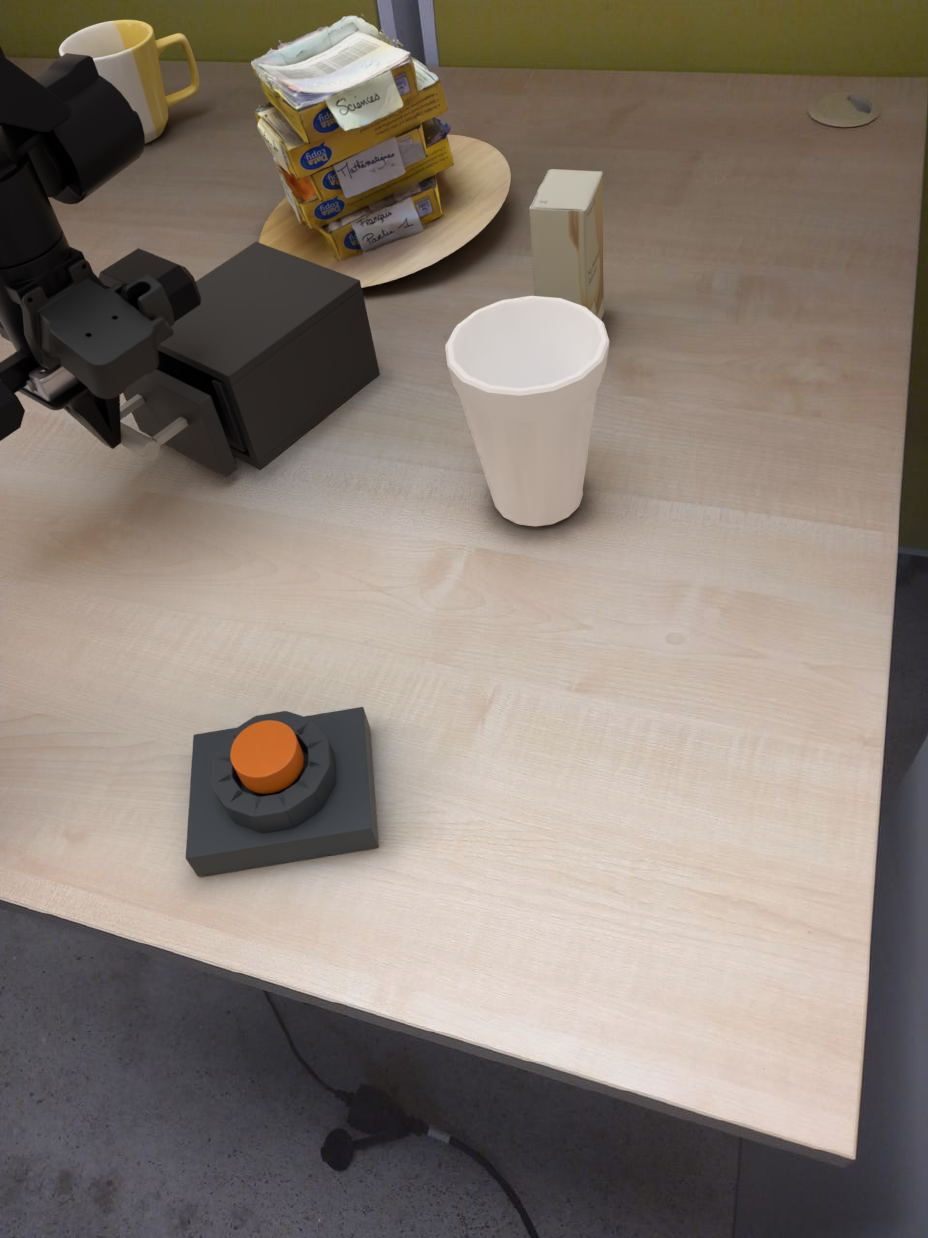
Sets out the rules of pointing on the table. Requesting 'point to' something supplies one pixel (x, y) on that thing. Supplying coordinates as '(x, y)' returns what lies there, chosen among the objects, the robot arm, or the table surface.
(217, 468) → the drawer
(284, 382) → the black box
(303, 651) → the table surface
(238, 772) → the button
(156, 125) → the mug
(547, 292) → the cosmetic box
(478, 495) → the table surface
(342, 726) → the control block
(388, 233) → the stack of yellow boxes
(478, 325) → the cup
